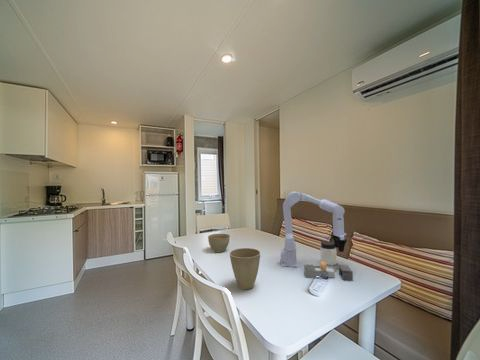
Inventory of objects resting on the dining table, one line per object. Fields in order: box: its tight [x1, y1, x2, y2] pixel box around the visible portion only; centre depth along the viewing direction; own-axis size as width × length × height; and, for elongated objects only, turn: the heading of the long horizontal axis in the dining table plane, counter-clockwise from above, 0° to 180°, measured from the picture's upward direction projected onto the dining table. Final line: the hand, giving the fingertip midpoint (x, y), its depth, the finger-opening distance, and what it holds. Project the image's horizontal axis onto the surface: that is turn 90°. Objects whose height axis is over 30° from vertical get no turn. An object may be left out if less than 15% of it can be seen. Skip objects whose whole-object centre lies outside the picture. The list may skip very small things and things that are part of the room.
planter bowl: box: [207, 233, 231, 253], centre depth 154 cm, size 16×16×11 cm
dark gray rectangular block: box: [338, 265, 354, 282], centre depth 106 cm, size 4×7×4 cm, turn 168°
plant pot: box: [229, 247, 261, 290], centre depth 100 cm, size 15×15×16 cm
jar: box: [319, 240, 338, 266], centre depth 126 cm, size 9×8×12 cm
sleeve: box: [303, 263, 328, 279], centre depth 109 cm, size 11×7×4 cm, turn 78°
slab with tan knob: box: [315, 260, 336, 279], centre depth 109 cm, size 13×4×7 cm, turn 78°
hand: (339, 249), depth 119 cm, fingers open, 7 cm apart
